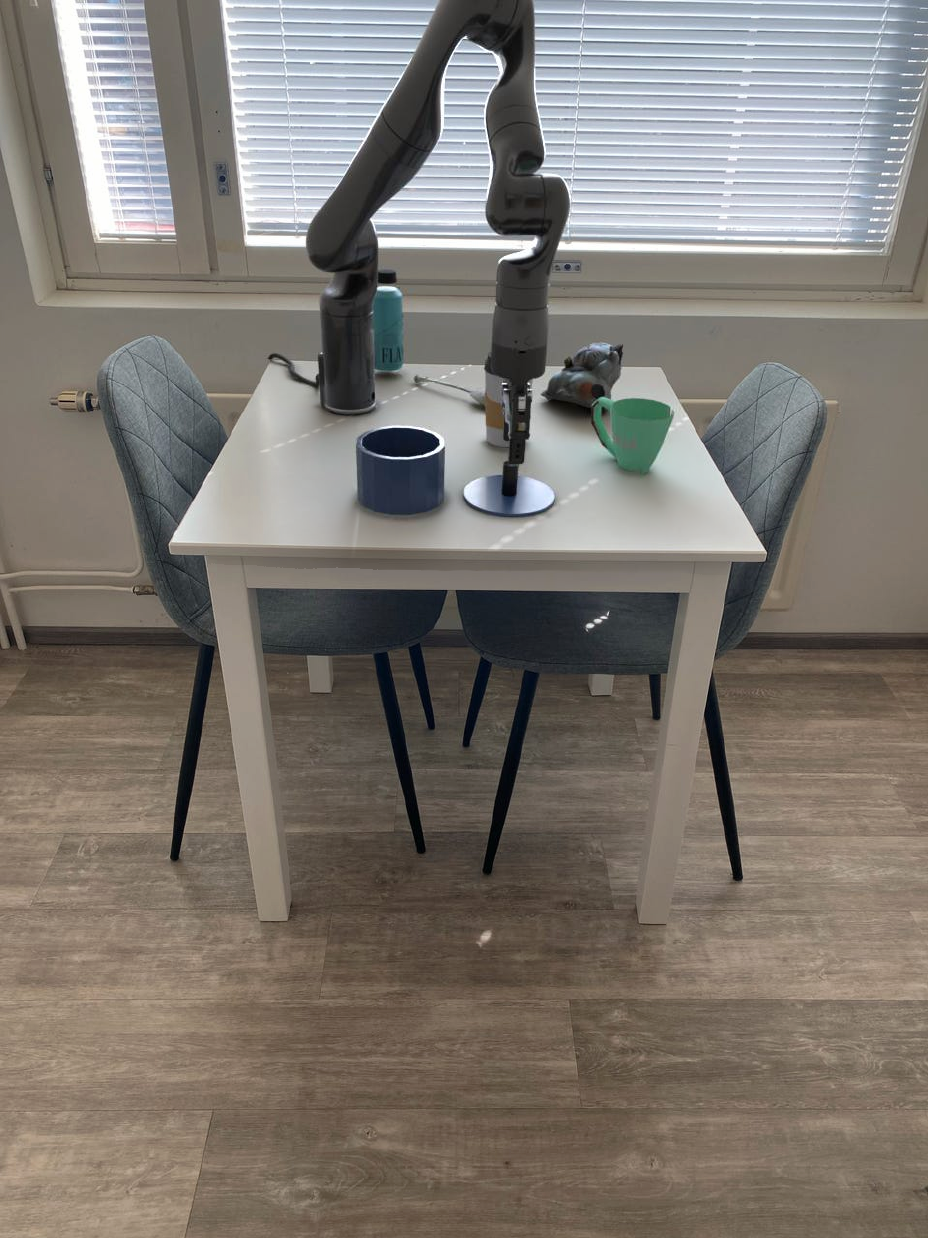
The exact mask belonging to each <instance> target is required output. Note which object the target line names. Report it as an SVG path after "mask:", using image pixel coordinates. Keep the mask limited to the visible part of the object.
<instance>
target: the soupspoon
mask: <svg viewBox="0 0 928 1238" xmlns="http://www.w3.org/2000/svg"><path fill="white" fill-rule="evenodd" d="M413 381H414V383H415V384H419V383H422V382H423V383H428V382H429V383H433V384H438V385H442V386H445V387H450V388H454V389H457V390H460V391H463V392H466V393H469V395H470V397H471V398H472V399H473V400H475V401H476V402H478V403H479V404H480V405H483V406H484V407H485V387H482V388H481V387H480V388H477V389H471V388H468V387H466V386H462V385H458V384H455V383H450V382H445V381H442V380H437V379H432V378H429V377H425V376H421V375H420V374H415V375H414V376H413Z"/></svg>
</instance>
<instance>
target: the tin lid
mask: <svg viewBox="0 0 928 1238" xmlns="http://www.w3.org/2000/svg"><path fill="white" fill-rule="evenodd" d="M519 466H520V464H510V463H509V461H508V460H504V461H503V462H502V472H501V473H502V474H493V475H487V476H482V477H479V478H476V479H473V480H471V481H470V482H469V483H467V484H466V485H465V486H464V488H463V492H462V496H463V499H464V501H465V502H466V504H467V505H469V506H470V507H471V508H473V509H475V510H477V511H479V512H482V513H483V514H484V513H485V514H487V515H493V516H496V517H497V516H498V517H505V518H506V517H507V518H522V517H529V516H534V515H539V514H541V513H544V512H546V511H547V510H549V509H550V508H552V506H554V504H555V499H556V495H555V492H554V490H553V489H552V488H551V487H550V486H549V485H547V484H546V483H544V482H542V481H540V480H537V479H535V478H531V477H528V476H522V475H519V469H520V467H519Z"/></svg>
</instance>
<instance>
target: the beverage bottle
mask: <svg viewBox="0 0 928 1238" xmlns="http://www.w3.org/2000/svg"><path fill="white" fill-rule="evenodd" d="M397 282H398V277H397V271H396V270H395V269H391V268H380V269H379V268H378V284H382V285H383V286H378V287H377V293H376V296H375V299H374V302H373V322H374V361H375V370H377V371H381V372H393V371H394V372H395V371H399V370H401V369H402V368H403V365H404V344H403V342H404V334H403V330H404V328H403V326H404V321H403V318H404V315H403V314H404V313H403V312H404V311H403V309H404V306H403V293H402V292H401V291H400V290H399V289H398V288H397V287H394V286H386V285H392V284H396V283H397ZM384 285H385V286H384Z"/></svg>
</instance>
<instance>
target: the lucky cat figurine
mask: <svg viewBox="0 0 928 1238" xmlns="http://www.w3.org/2000/svg"><path fill="white" fill-rule="evenodd" d="M623 349H624V344H623V343H621V344H617V345H616V346H613V345H612V344H610V343H605V342H592V343H591V344H589V345H587V346H584V347H582V348H581V349H579V350H578V351H577V352H576V354H575V355H574V356H573V357H571V356H566V358H565V359H564V360H563V364H564V368H562V369H561V370H560V371H557V372H555V373H554V374H553V375H552V377H550V379H549V380H548V384H547V388H546V389H545V390H543V391H541V393H540V396H542V397H543V398H545V399H546V400H547V401H550V400H556V401H563V402H568V403H572V404H575V405H579V406H581V407H584V408H588V409H591V405H592V404H593V403H594V402H595V401H596V400H598V399H599V398H601V397H605V398H608V399H611V400H612V390H613V387H614V385H615V384H616V383H617V381H618V380H619V379H620V378H621V375H622V372H621V371H622V366H623V365H622V359H623V355H624V352H623ZM608 411H609V410H608V409H606V408H605V407H602V412H601V415H603V414H606V413H607V412H608Z"/></svg>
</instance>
